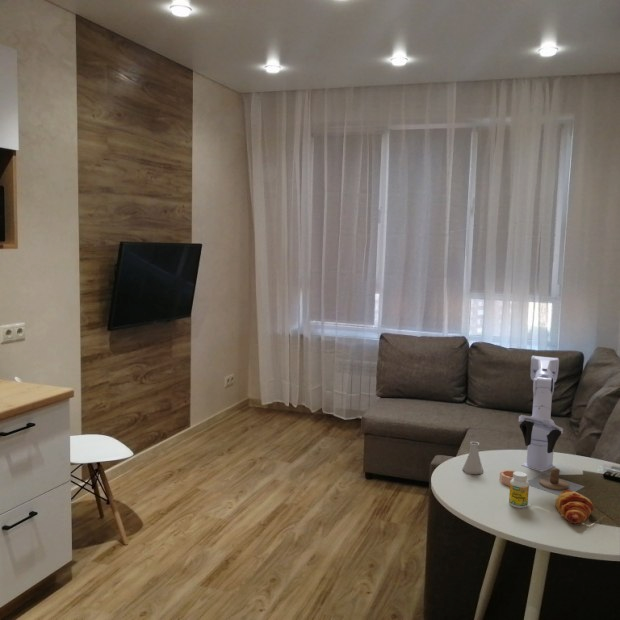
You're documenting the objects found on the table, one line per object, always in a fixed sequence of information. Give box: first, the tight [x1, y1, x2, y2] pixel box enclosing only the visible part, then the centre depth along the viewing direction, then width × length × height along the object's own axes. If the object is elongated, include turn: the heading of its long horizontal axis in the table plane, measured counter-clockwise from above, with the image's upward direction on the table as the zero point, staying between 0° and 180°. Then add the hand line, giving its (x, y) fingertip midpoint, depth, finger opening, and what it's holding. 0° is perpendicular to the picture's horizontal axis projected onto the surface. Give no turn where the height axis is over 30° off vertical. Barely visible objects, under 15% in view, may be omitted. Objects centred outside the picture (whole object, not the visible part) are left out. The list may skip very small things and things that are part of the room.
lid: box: [539, 467, 569, 490], centre depth 199 cm, size 9×9×5 cm
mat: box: [527, 473, 585, 496], centre depth 199 cm, size 14×14×1 cm
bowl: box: [499, 469, 518, 487], centre depth 200 cm, size 7×7×3 cm
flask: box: [462, 441, 484, 475], centre depth 209 cm, size 7×7×10 cm
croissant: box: [554, 490, 595, 524], centre depth 179 cm, size 21×10×8 cm, turn 160°
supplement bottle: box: [508, 471, 530, 509], centre depth 183 cm, size 5×5×10 cm
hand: (538, 448), depth 196 cm, fingers open, 7 cm apart
